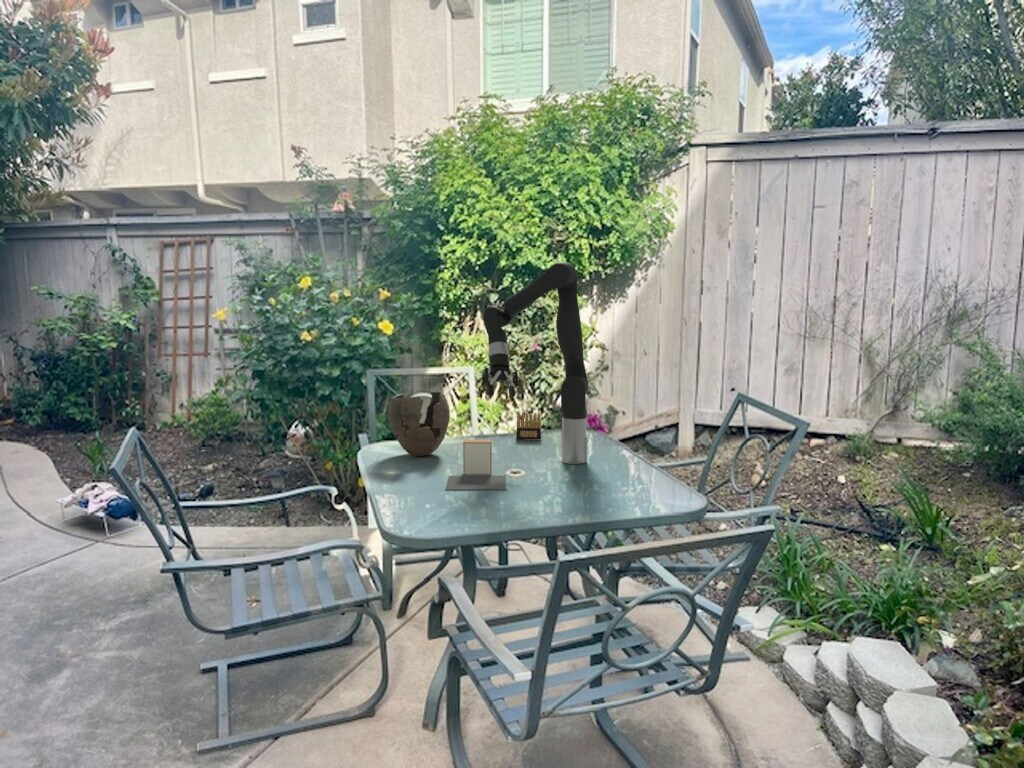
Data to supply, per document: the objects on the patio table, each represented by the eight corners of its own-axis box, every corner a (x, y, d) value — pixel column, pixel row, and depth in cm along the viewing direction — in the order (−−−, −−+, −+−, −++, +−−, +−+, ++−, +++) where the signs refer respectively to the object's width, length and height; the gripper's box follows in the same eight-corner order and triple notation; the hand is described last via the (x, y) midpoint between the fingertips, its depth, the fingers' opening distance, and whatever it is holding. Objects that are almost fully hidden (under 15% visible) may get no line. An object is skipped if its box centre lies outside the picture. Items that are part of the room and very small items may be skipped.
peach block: (491, 471, 256) (491, 439, 254) (491, 475, 252) (491, 442, 250) (464, 471, 255) (463, 439, 254) (463, 475, 251) (463, 442, 250)
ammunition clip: (541, 439, 306) (541, 411, 304) (541, 440, 304) (541, 412, 302) (516, 438, 306) (516, 411, 304) (516, 439, 304) (516, 412, 303)
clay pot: (439, 464, 265) (438, 398, 261) (379, 460, 270) (377, 396, 266) (457, 448, 288) (456, 388, 284) (401, 445, 293) (399, 386, 289)
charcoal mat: (505, 476, 250) (505, 475, 250) (505, 490, 234) (505, 489, 234) (448, 476, 250) (448, 475, 249) (445, 490, 234) (445, 489, 234)
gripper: (486, 350, 262) (489, 391, 256) (520, 354, 269) (523, 395, 263) (477, 357, 268) (480, 398, 263) (510, 361, 275) (513, 401, 269)
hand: (501, 396), depth 263 cm, fingers open, 8 cm apart
